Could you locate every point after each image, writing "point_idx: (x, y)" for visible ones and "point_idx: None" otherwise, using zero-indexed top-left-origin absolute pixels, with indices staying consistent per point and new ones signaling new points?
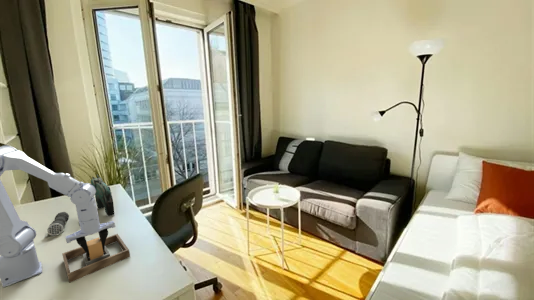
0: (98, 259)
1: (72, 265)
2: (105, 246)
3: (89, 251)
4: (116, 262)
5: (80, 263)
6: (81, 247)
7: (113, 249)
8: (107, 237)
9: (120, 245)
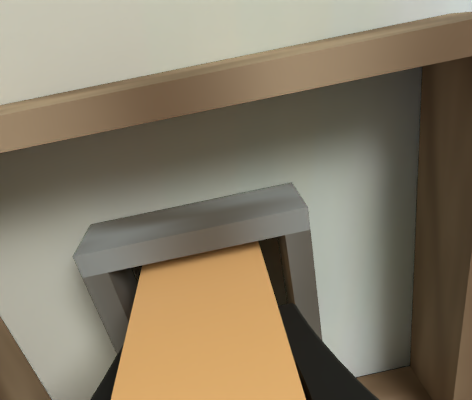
0: None
1: (9, 274)
2: (308, 223)
3: None
4: None
5: (78, 279)
6: (12, 149)
7: (353, 204)
8: (379, 46)
9: (430, 222)
